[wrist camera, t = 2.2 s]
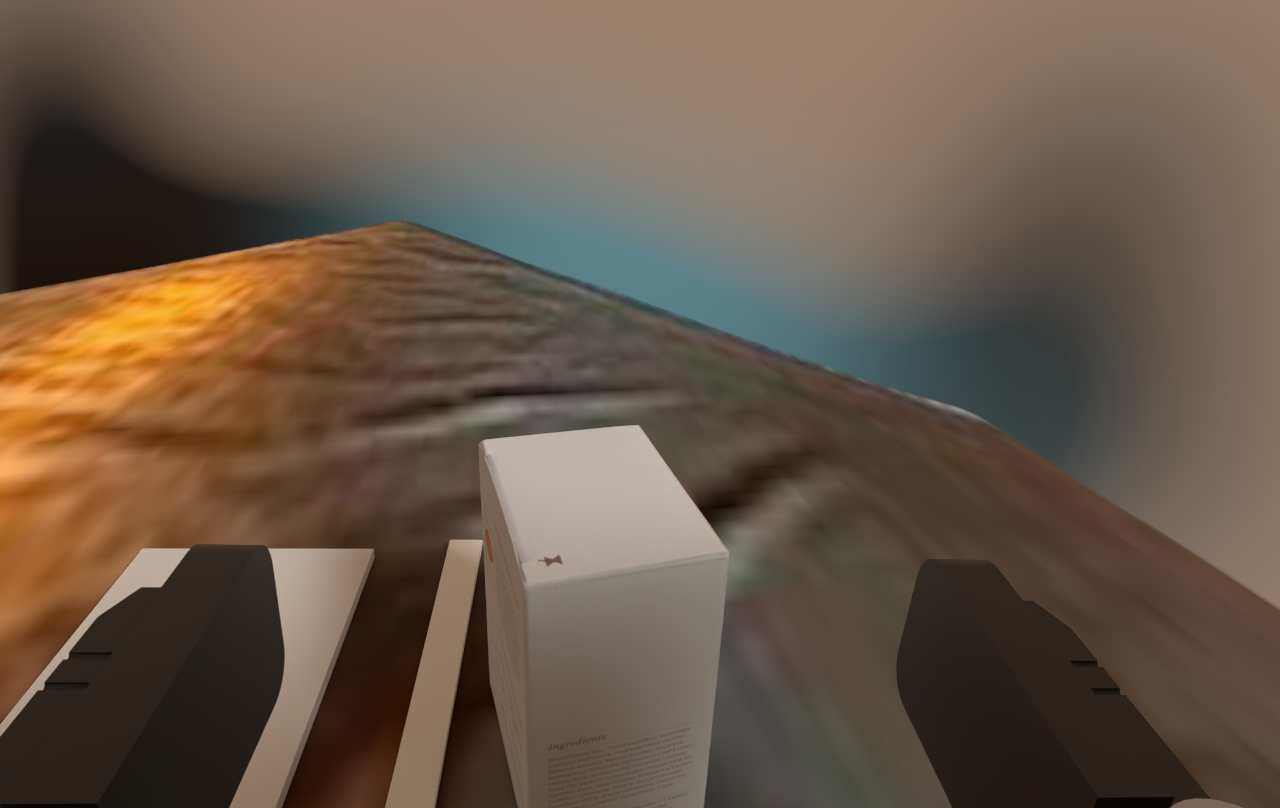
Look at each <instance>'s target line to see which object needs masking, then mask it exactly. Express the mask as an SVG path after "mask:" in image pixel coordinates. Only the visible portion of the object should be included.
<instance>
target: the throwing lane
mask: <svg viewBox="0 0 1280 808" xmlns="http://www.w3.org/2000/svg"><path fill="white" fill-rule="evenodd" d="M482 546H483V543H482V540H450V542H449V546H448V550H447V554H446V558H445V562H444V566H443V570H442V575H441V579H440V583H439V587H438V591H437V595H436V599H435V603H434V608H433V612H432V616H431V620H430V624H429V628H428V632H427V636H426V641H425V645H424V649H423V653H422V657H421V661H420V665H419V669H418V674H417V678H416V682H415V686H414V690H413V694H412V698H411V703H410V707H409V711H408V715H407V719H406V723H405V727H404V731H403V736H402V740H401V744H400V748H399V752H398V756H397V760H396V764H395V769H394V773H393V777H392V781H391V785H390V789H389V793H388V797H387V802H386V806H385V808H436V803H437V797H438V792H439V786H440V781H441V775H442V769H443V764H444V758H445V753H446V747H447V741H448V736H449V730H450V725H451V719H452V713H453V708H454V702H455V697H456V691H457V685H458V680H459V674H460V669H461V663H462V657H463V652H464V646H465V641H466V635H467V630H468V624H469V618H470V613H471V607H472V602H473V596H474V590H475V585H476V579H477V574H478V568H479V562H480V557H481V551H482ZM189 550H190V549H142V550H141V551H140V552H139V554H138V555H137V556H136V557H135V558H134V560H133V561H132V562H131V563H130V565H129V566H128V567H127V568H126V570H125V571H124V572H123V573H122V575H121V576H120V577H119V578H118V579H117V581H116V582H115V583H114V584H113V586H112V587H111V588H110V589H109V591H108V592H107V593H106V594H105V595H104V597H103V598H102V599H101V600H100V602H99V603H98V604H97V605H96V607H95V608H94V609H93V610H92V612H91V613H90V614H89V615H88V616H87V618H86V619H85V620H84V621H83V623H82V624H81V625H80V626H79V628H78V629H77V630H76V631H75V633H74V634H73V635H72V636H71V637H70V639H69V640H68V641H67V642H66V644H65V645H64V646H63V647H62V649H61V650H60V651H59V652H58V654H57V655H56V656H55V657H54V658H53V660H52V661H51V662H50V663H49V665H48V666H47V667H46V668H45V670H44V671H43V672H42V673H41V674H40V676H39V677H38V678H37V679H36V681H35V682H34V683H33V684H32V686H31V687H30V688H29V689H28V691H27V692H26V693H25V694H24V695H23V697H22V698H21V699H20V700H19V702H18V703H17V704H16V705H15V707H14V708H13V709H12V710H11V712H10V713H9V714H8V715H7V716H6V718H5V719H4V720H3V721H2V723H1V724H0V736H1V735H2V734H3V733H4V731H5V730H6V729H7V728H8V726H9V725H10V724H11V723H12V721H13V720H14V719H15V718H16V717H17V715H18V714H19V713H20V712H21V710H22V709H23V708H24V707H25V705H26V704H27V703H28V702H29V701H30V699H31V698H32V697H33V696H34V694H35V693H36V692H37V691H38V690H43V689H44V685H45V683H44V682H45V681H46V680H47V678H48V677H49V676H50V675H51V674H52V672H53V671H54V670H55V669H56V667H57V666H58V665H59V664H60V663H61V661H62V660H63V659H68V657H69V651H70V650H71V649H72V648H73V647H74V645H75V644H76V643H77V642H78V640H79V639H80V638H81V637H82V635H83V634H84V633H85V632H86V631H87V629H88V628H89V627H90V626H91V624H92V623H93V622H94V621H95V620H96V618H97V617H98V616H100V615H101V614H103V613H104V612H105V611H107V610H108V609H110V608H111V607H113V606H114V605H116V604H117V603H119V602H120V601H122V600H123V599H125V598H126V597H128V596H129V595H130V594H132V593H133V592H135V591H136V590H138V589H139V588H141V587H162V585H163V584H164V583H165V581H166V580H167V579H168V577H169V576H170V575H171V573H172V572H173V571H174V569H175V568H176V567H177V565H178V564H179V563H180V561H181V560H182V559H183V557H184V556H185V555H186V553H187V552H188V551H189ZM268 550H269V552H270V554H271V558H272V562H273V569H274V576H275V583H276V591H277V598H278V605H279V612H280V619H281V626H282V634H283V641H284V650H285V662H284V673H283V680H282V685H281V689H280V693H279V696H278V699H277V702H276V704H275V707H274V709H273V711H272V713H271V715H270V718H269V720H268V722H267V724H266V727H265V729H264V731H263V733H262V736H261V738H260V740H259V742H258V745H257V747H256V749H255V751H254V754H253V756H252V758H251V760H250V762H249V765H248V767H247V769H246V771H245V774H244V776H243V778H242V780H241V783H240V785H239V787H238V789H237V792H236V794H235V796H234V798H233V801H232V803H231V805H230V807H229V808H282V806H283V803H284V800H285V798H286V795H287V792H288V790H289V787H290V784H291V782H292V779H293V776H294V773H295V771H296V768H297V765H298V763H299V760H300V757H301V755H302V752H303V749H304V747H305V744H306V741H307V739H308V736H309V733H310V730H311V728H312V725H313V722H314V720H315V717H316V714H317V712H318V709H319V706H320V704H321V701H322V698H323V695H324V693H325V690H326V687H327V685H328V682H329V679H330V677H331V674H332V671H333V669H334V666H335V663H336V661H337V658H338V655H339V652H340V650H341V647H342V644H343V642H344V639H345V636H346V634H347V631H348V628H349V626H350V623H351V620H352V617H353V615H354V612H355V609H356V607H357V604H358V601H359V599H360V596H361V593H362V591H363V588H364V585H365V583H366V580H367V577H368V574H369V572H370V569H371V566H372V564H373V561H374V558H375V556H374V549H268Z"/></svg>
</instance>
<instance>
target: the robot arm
mask: <svg viewBox="0 0 1280 808" xmlns="http://www.w3.org/2000/svg"><path fill="white" fill-rule="evenodd" d="M284 662H285V650H284V641H283V634H282V626H281V619H280V612H279V605H278V598H277V591H276V583H275V576H274V569H273V562H272V558H271V554H270V552H269V550H268V548H267V547H266V546H264V545H218V544H197V545H194V546H193V547H192V548H190V550H189V551H188V552H187V553H186V555H185V556H184V557H183V559H182V560H181V561H180V563H179V564H178V565H177V567H176V568H175V569H174V571H173V572H172V573H171V575H170V576H169V577H168V579H167V580H166V581H165V583H164V584H163V585H162V587H141V588H139V589H138V590H136V591H135V592H133V593H132V594H130V595H129V596H128V597H126V598H125V599H123V600H122V601H120V602H119V603H117V604H116V605H114V606H113V607H111V608H110V609H108V610H107V611H105V612H104V613H103V614H101V615H100V616H98V617H97V618H96V620H95V621H94V622H93V623H92V624H91V626H90V627H89V628H88V629H87V631H86V632H85V633H84V634H83V635H82V637H81V638H80V639H79V640H78V642H77V643H76V644H75V645H74V647H73V648H72V649H71V650H70V651H69V657H68V659H63V660H62V661H61V663H60V664H59V665H58V666H57V667H56V669H55V670H54V671H53V672H52V674H51V675H50V676H49V677H48V678H47V680H46V681H45V682H44V683H45V685H44V689H43V690H38V691H37V692H36V693H35V694H34V696H33V697H32V698H31V699H30V701H29V702H28V703H27V704H26V705H25V707H24V708H23V709H22V710H21V712H20V713H19V714H18V715H17V717H16V718H15V719H14V720H13V721H12V723H11V724H10V725H9V726H8V728H7V729H6V730H5V731H4V733H3V734H2V735H1V736H0V808H229V807H230V805H231V803H232V801H233V798H234V796H235V794H236V792H237V789H238V787H239V785H240V783H241V780H242V778H243V776H244V774H245V771H246V769H247V767H248V765H249V762H250V760H251V758H252V756H253V754H254V751H255V749H256V747H257V745H258V742H259V740H260V738H261V736H262V733H263V731H264V729H265V727H266V724H267V722H268V720H269V718H270V715H271V713H272V711H273V709H274V707H275V704H276V702H277V699H278V696H279V693H280V689H281V685H282V680H283V673H284ZM897 683H898V689H899V693H900V697H901V700H902V703H903V705H904V708H905V710H906V712H907V714H908V716H909V718H910V720H911V722H912V725H913V727H914V729H915V731H916V733H917V735H918V737H919V739H920V741H921V743H922V745H923V747H924V750H925V752H926V754H927V756H928V758H929V760H930V762H931V764H932V766H933V768H934V770H935V772H936V775H937V777H938V779H939V781H940V783H941V785H942V787H943V789H944V791H945V793H946V795H947V798H948V800H949V802H950V804H951V806H952V808H1242V807H1239V806H1237V805H1234V804H1230V803H1226V802H1223V801H1218V800H1212V799H1210V798H1209V796H1208V795H1207V794H1206V793H1205V792H1204V790H1203V789H1202V788H1201V787H1200V785H1199V784H1198V783H1197V782H1196V781H1195V779H1194V778H1193V777H1192V776H1191V774H1190V773H1189V772H1188V771H1187V770H1186V768H1185V767H1184V766H1183V765H1182V764H1181V762H1180V761H1179V760H1178V759H1177V757H1176V756H1175V755H1174V754H1173V753H1172V751H1171V750H1170V749H1169V748H1168V746H1167V745H1166V744H1165V743H1164V742H1163V740H1162V739H1161V738H1160V737H1159V735H1158V734H1157V733H1156V732H1155V731H1154V729H1153V728H1152V727H1151V726H1150V724H1149V723H1148V722H1147V721H1146V720H1145V718H1144V717H1143V716H1142V715H1141V713H1140V712H1139V711H1138V710H1137V709H1136V707H1135V706H1134V705H1133V704H1132V702H1131V701H1130V700H1129V699H1128V698H1127V696H1126V695H1121V694H1120V688H1119V687H1118V685H1117V684H1116V683H1115V682H1114V680H1113V679H1112V678H1111V677H1110V676H1109V674H1108V673H1107V672H1106V671H1105V669H1104V668H1101V667H1098V665H1097V660H1096V659H1095V657H1094V656H1093V655H1092V654H1091V652H1090V651H1089V650H1088V649H1087V648H1086V646H1085V645H1084V644H1083V643H1082V641H1081V640H1080V639H1079V638H1078V637H1077V635H1076V634H1075V633H1074V632H1073V630H1072V629H1071V628H1069V627H1068V626H1067V625H1065V624H1064V623H1063V622H1061V621H1060V620H1058V619H1057V618H1056V617H1054V616H1053V615H1052V614H1050V613H1049V612H1047V611H1046V610H1045V609H1043V608H1042V607H1040V606H1039V605H1038V604H1036V603H1035V602H1034V601H1023V600H1022V599H1021V598H1020V596H1019V595H1018V594H1017V593H1016V591H1015V590H1014V589H1013V587H1012V586H1011V585H1010V584H1009V582H1008V581H1007V580H1006V578H1005V577H1004V576H1003V574H1002V573H1001V572H1000V571H999V569H998V568H997V567H996V566H995V565H994V564H993V563H992V562H990V561H988V560H963V559H928V560H926V561H925V562H924V563H923V564H922V566H921V567H920V570H919V572H918V575H917V579H916V583H915V587H914V591H913V595H912V599H911V603H910V607H909V611H908V615H907V619H906V623H905V627H904V631H903V635H902V639H901V643H900V647H899V651H898V656H897Z"/></svg>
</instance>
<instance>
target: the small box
mask: <svg viewBox="0 0 1280 808" xmlns="http://www.w3.org/2000/svg"><path fill="white" fill-rule="evenodd" d="M479 464H480V488H481V506H482V528H483V547H484V567H485V588H486V609H487V633H488V654H489V674H490V686H491V690H492V693H493V698H494V703H495V707H496V711H497V716H498V721H499V725H500V730H501V734H502V739H503V743H504V748H505V752H506V757H507V761H508V766H509V770H510V775H511V779H512V784H513V789H514V793H515V798H516V802H517V806H518V808H704V799H705V791H706V782H707V771H708V761H709V752H710V743H711V732H712V721H713V712H714V702H715V692H716V682H717V673H718V664H719V652H720V643H721V634H722V624H723V614H724V602H725V593H726V583H727V575H728V565H729V557H730V552H729V550H728V549H727V548H726V546H725V545H724V544H723V542H722V541H721V540H720V538H719V537H718V535H717V534H716V533H715V531H714V530H713V528H712V527H711V526H710V524H709V523H708V521H707V520H706V518H705V517H704V516H703V514H702V513H701V512H700V510H699V509H698V507H697V506H696V505H695V503H694V502H693V501H692V499H691V498H690V496H689V495H688V494H687V492H686V491H685V489H684V488H683V487H682V485H681V484H680V482H679V481H678V479H677V478H676V477H675V475H674V474H673V472H672V471H671V470H670V468H669V467H668V466H667V464H666V463H665V461H664V460H663V458H662V457H661V456H660V454H659V453H658V451H657V450H656V449H655V447H654V446H653V444H652V443H651V441H650V440H649V439H648V437H647V436H646V434H645V433H644V432H643V430H642V428H641V427H640V426H639V425H631V426H617V427H606V428H596V429H587V430H576V431H566V432H556V433H546V434H536V435H526V436H516V437H506V438H497V439H488V440H484V441H481V443H480V444H479Z"/></svg>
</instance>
